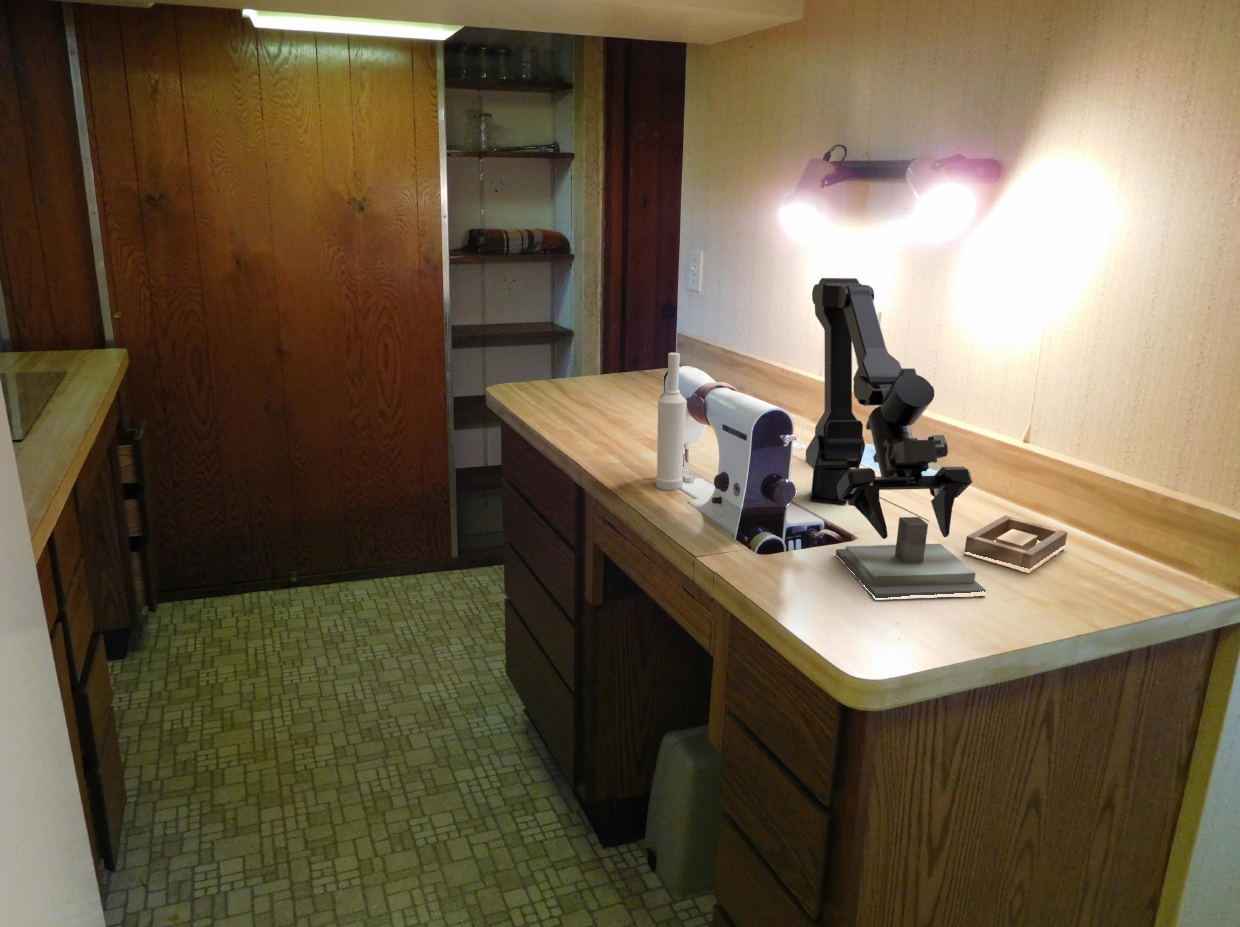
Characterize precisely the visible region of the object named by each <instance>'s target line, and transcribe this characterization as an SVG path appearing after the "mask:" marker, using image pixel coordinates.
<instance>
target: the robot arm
mask: <svg viewBox="0 0 1240 927" xmlns="http://www.w3.org/2000/svg"><path fill="white" fill-rule="evenodd" d="M811 295H812V296H811V298H812V299H811V300H812V303H813V304H814V314H815V317H816V318H817V320H818V321H819V323H820V325H821V326H822V328H823V330H824V331H823V332H824V412H823V414H822V415H821V416H820V418H819V420H818V422H817V423H816V425H815V430H814V436H813V438H812V439H811V441H810V443H809V444H808V445H807V448H806V449H805V462H806V463H807V465H809V466H810V467H811V468H812V469H813V471H812V481H811V492H810V496H809V501H812V502H821V503H830V504H838V505H847V504H848V506H851V507H852V506H853V507H855V508H856V509H857V510H858V512H860V514H862V516H863V517H864V518H865V520H867V521H868V522H869V524H871V527H873V528H874V530H875V531H876V532H877V533H878V535H879V537H880V538H881V539H883V540H885V539H887V538H888V537H889V535H888V534H889V533H888V529H887V528H888V527H887V523H886V520H885V515H884V513H883V508H882V505H881V502H880V491H891V490H894V491H896V490H897V491H898V490H929V492H930V495H931V496H932V497H933V498H932V500H931V501H930V502H931V503H930V504H931V506H932V509H933V512H934V515H935V519H936V522H937V524H938V527H939V530H940V532H941V535H942V536H943V537H944V538H947V537H948V536H949V535H950V530H951V529H950V528H951V522H952V521H951V520H952V512H953V506H954V502H955V499H956V498H958V497H959V496H961V494H962V493H963V492H964V491H966V489H968V487H969V486H970V485H972V483H973V478H972V474H971V472H970V471H969V469H968V468H967V467H965V466H942V467H940V469H939V470H938V471H937V472H936V473H935V474H934V475H923V474H922V473H923V472H927V471H928V469H930V466H929V464H930V463H933V464H935V463H938V459H942V458H944V457H947V456H948V454H949V450H948V448H949V447H948V443H947V439H946V435H944V434H939V435H938V434H933V435H932V436H928V438H927V439H918V437H914V436H913V432H912V429H911V426H912V425H914V424H915V423H916V422H917V421H919V419H920V417H921V416H922V415H923V414H924V412H925V411H926V410H927V409H928V408H929V406H930V404H931V403H932V402H933V400H934V398H935V389H934V387H933V385H932V384H931V383H930V381H929V380H927V379H926V378H925V377H923V376H921V375H919V374H917V371H916V369H915V368H912V367H911V368H908V367H907V368H905V367H904V368H902V365H901V363H900V361H899V360H898V359H896V358H895V357H894V356H892V355H891V354H890V353H889V351H888V349H887V348H888V347H887V344H886V342H885V338H884V335H883V332H882V328H881V323H880V321H879V317H878V313H877V311H876V307H875V303H874V300H875V292H874V288H873V287H872V286H870V285H869V284H862V283H860V282H859V279H858V278H856V277H855V278H854V277H853V278H851V277H839V278H838V277H821V279H820V280H819V281H818V283H816V284H814V285H813V287H812V294H811ZM853 350H854V351H853ZM853 352H854V354H855V358H856V362H857V370H856V372H855V374H854V376H853ZM853 395H854V396H853ZM853 397H854V398H855V399H856V401H857V402H858V404H859V405H862V406H864V407H875V408H874V409H873V410H872V411H871V413H870V414H869V415H868V418H867V419H868V420H867V421H866V425H865V429H866V430H867V431H869V430H870V432H871V436H872V441H873V446H874V449H875V450H874V451H875V453H874V455H873V457H872V459H873V462H874V463H878V469H879V471H880V472H879V474H880V476H876V471H875V470H874V469H872V468H871V467H867V468H863V467H862V468H860V466H861V463H862V459H863V455H864V452H865V448H866V443H865V439H864V437H863V429H864V424H863V422H862V421H861V420H858V418H857V417H856V415H855V413H854V412H853ZM850 468H852V469H850Z"/></svg>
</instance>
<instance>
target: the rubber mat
mask: <svg viewBox="0 0 1240 927" xmlns="http://www.w3.org/2000/svg"><path fill="white" fill-rule="evenodd" d="M845 553H846V548H836V549H835V556H836V555H837V556H838V557H839V558H840V559H841V560H842V561H843V562H844V563H845V565H846V566H847V567H848V568H849V569H850V570H851V571H852V572H853V573H854V574H855V576H856V577H857V578H858V579H859V580H860V581H861V583H862V584H863V585H865V587H866V588H867V589H868V590H869V591H870V592H871V593H872V594H873V595H874V596H875V598H888V597H889V598H890V597H901V596H910V595H935V594H936V595H937V594H954V593H971V592H980V591H981V592H982V591H984V592H985V591H986V592H987V590H986V588H984V586H982V585H981V584H979V583H978V582H977V581H976V580H975V581H974V583H955V584H925V585H896V586H872V585H871V583H870V582H869V581H868V580H867V579H866V578H865V577H864V576H863V575H862V574H861V572H860V571H859V570H858V569H857V568H856V567H855V566H854V565H853V564H852V562H851V561H850V560H849V559H848V558H847V557H846V556H845ZM837 556H836V557H837ZM838 557H837V558H838ZM839 558H838V559H839ZM845 565H844V566H845ZM846 566H845V567H846Z"/></svg>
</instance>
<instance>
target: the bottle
mask: <svg viewBox="0 0 1240 927" xmlns="http://www.w3.org/2000/svg"><path fill="white" fill-rule="evenodd" d="M667 358H668V359H667V360H668V362H667V364H668V366H667V389H666V390H665V392H664V394H662V395H661V396H660V397H659V398H658V399H657V443H656V444H657V446H656V447H657V452H656V453H657V456H656V457H657V458H656V459H657V460H656V476H655V477H654V478H655V481H654V482H655V486H656V488H658V489H659V490H663V491H678V490H680V489H679V488H680V487H681V486H682V487H683V485H684V484H683V483H684V477H683V464H684V463H683V462H684V448H685V433H686V432H685V431H686V420H687V419H686V417H687V415H686V414H687V404H688V400H687V399H686V398H685V397H684V396H683V395H682V394H681V391H680V390H679V378H680V377H679V376H680V362H681V360H680V359H681V354H680V353H679V352H669V353H668V355H667ZM682 487H681V488H682Z"/></svg>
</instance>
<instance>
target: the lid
mask: <svg viewBox="0 0 1240 927" xmlns="http://www.w3.org/2000/svg"><path fill="white" fill-rule="evenodd" d="M928 527H929V524H928V523H927V522H926V521H925V520H923V518H921V516H909V517H908V516H907V517H905V516H904V517H901V516H900V517H899V519H898V526H897V536H896V542H895V544H879V545H878V544H877V545H845V549H846V553H845V556H846V557H847V558H848V559H849V560H850V561H851V562H852V564H853V565H854V566H855V567H856V568H857V569H858V570H859V571H860V572H861V574H862V575H863V576H864V577H865V578H866V579H867V580H868V581H869V582H870V583H871V585H872V586H896V585H925V584H955V583H974V581H976V574H977V573H976V572H975V571H974V570H973V569H971V568H970V567H969V566H968V565H967V564H966V563H964V562H963V561H962V560H961V559H960V558H958V556H956V555H955V554H954V553H953V552H951V551H950V550H949V549H948V548H946V546H944V545H943V544H941V543H927V535H928Z"/></svg>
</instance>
